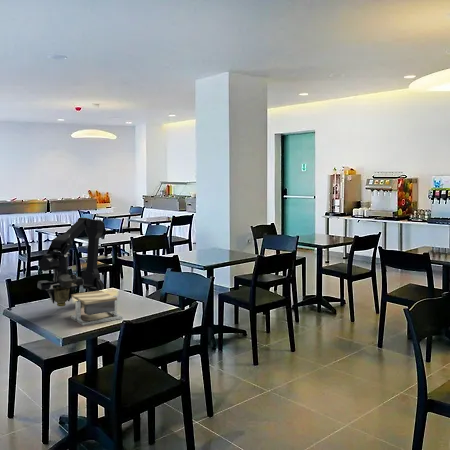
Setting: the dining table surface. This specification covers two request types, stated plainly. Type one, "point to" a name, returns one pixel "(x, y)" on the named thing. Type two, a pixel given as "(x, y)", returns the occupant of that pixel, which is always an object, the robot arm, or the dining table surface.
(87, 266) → the robot arm
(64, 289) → the bronze domed piece
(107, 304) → the trapdoor
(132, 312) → the dining table surface
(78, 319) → the trapdoor frame
